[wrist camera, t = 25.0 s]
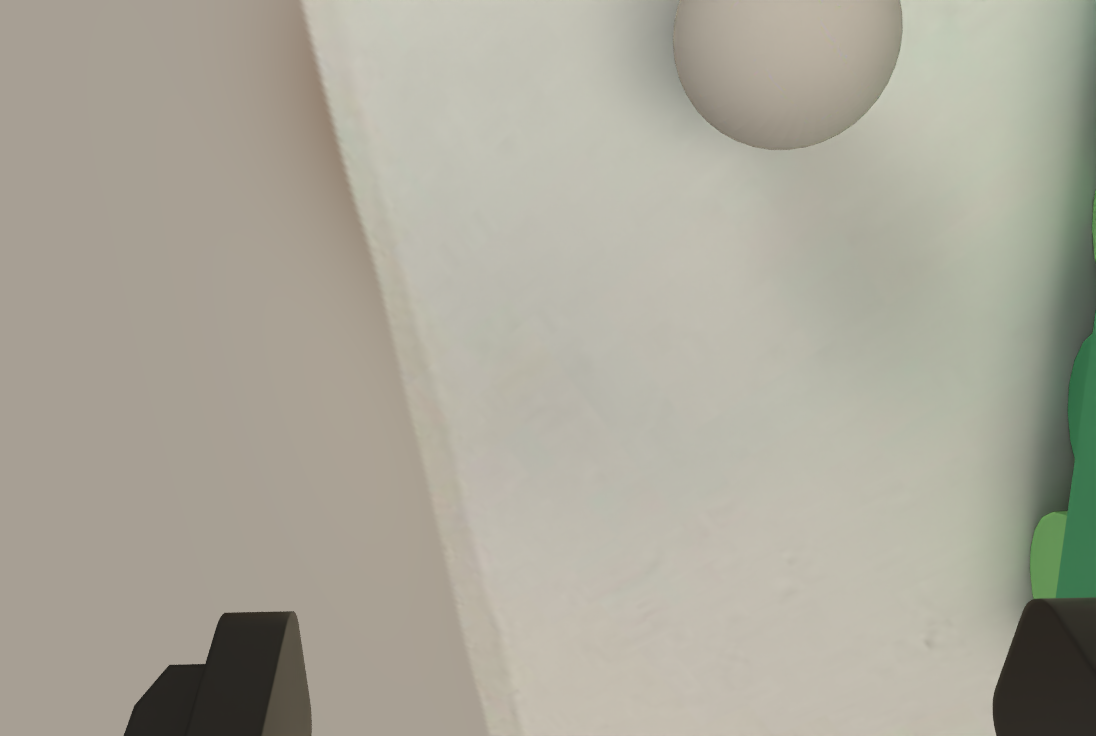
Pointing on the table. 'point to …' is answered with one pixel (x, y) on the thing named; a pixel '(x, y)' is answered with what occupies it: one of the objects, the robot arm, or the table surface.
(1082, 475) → the toy tank
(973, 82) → the table surface
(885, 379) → the table surface
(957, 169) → the table surface
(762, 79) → the light bulb
